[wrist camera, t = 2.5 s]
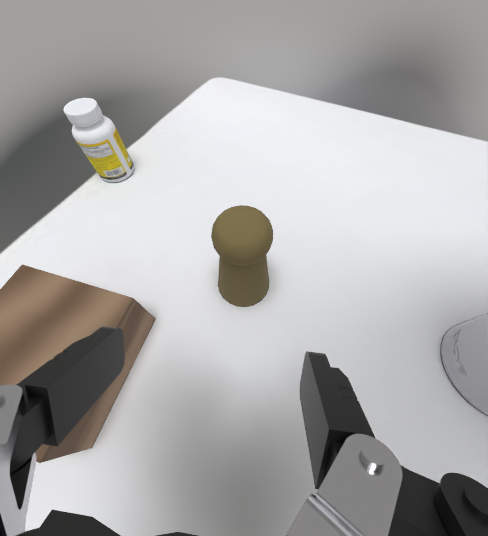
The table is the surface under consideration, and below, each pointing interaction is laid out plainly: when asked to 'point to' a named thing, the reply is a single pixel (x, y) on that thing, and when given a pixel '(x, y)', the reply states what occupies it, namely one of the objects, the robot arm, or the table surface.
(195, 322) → the table surface
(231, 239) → the cork
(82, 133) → the supplement bottle
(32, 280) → the walnut riser
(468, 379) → the robot arm
